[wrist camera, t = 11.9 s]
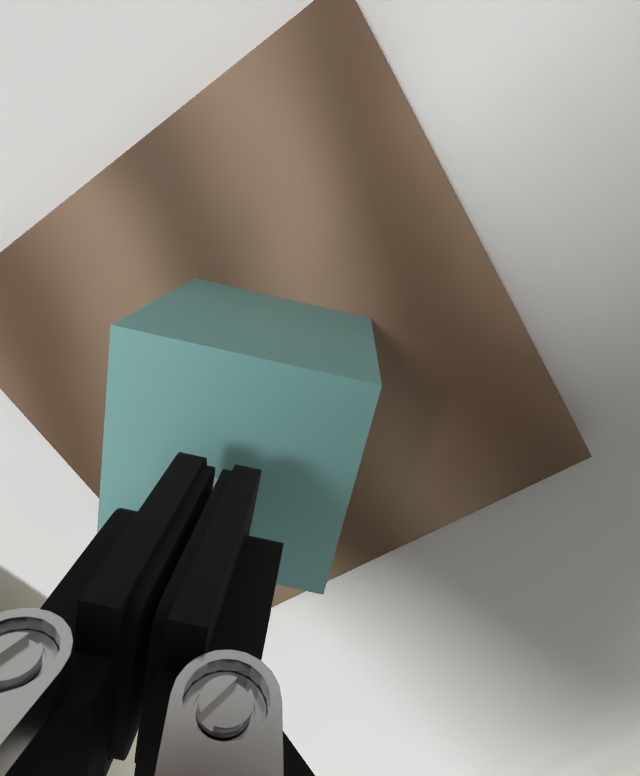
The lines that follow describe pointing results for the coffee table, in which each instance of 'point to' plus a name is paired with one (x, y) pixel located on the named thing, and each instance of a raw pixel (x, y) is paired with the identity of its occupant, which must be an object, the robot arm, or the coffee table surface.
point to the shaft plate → (299, 278)
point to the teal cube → (244, 409)
